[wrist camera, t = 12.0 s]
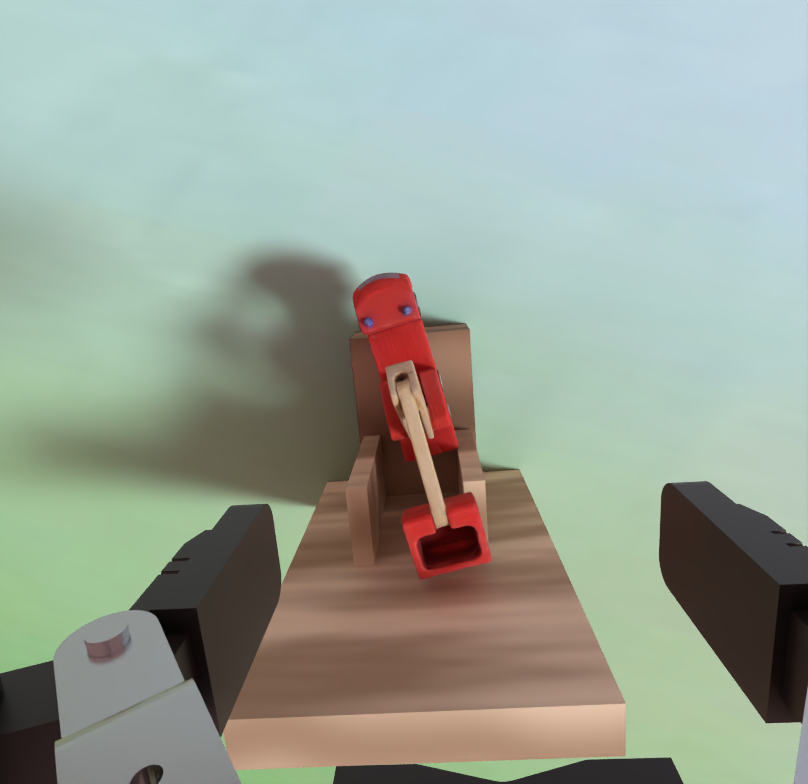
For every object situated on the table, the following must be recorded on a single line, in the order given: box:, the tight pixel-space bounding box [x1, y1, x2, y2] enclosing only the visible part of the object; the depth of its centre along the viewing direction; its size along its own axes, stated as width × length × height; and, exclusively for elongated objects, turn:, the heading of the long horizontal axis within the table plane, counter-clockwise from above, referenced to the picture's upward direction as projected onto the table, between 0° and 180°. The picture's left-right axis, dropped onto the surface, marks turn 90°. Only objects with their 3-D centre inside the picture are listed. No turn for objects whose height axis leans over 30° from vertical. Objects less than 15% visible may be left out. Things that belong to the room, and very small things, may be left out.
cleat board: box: [223, 324, 626, 770], centre depth 26 cm, size 12×13×20 cm
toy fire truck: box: [353, 273, 492, 579], centre depth 27 cm, size 3×14×10 cm, turn 17°
